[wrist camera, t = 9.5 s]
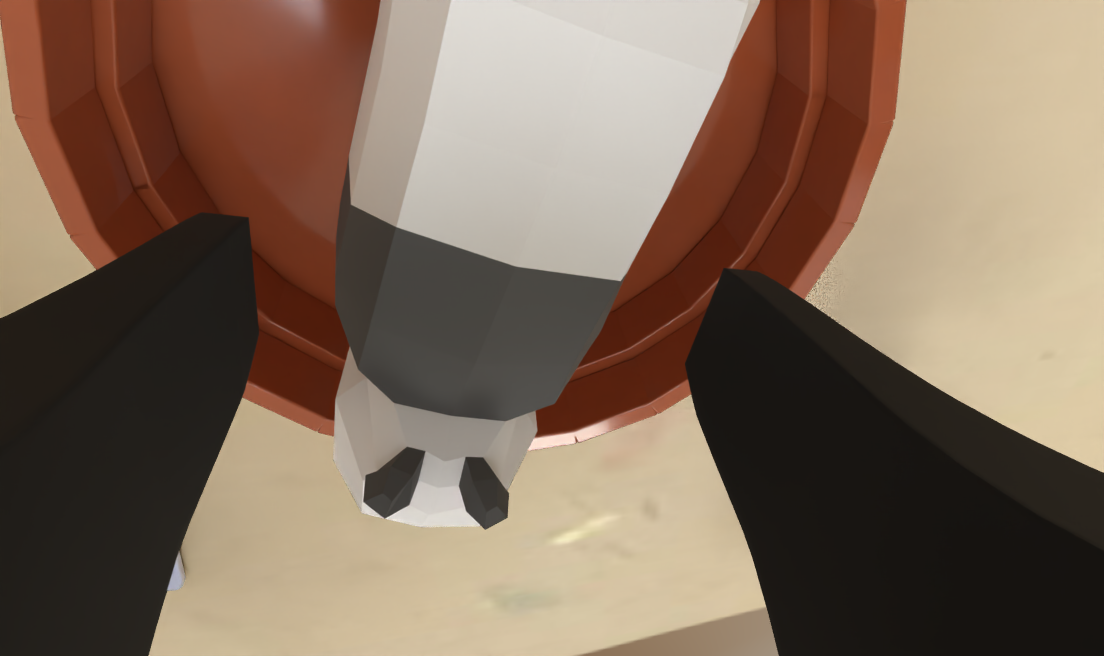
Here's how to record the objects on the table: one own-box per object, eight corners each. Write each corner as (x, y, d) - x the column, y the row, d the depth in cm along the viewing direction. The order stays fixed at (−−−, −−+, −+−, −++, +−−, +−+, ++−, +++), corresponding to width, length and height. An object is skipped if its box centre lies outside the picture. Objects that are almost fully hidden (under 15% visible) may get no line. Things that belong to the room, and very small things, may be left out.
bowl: (688, 371, 24) (729, 466, 20) (169, 335, 20) (110, 443, 17) (941, -235, 14) (1108, -255, 10) (2, -523, 10) (-237, -705, 7)
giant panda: (437, -276, 12) (413, -433, 5) (695, -153, 14) (984, -123, 6) (324, 327, 20) (249, 626, 13) (496, 359, 22) (520, 641, 14)
